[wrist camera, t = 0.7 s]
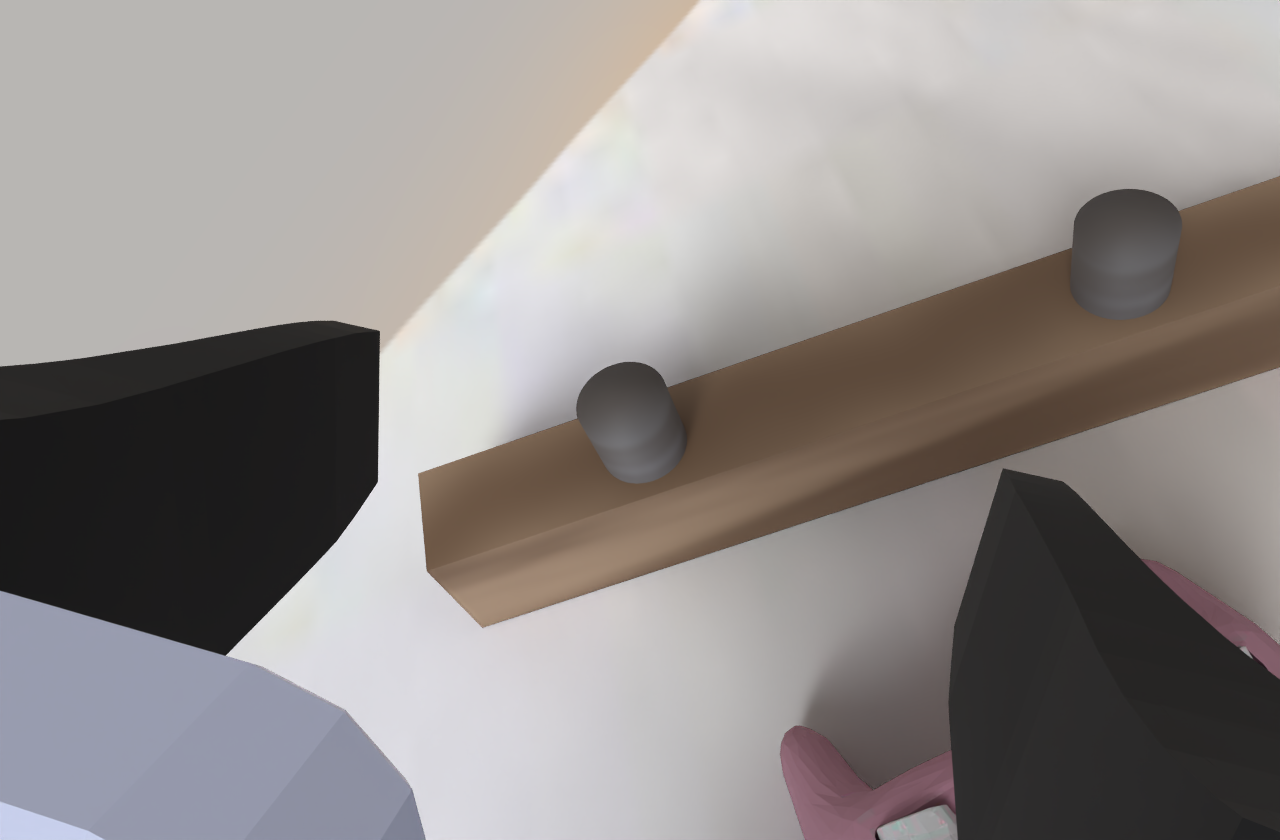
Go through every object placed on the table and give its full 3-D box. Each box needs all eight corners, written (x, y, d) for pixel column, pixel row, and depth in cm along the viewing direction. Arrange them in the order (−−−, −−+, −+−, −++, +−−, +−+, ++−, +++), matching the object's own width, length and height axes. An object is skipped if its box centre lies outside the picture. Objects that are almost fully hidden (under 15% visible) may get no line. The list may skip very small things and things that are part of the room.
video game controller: (853, 928, 24) (901, 1056, 17) (759, 737, 25) (768, 785, 18) (1247, 731, 24) (1455, 779, 17) (1139, 547, 25) (1294, 521, 18)
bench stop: (1374, 336, 26) (1446, 173, 22) (482, 628, 29) (389, 533, 25) (1304, 254, 28) (1358, 90, 24) (471, 535, 31) (382, 432, 26)
